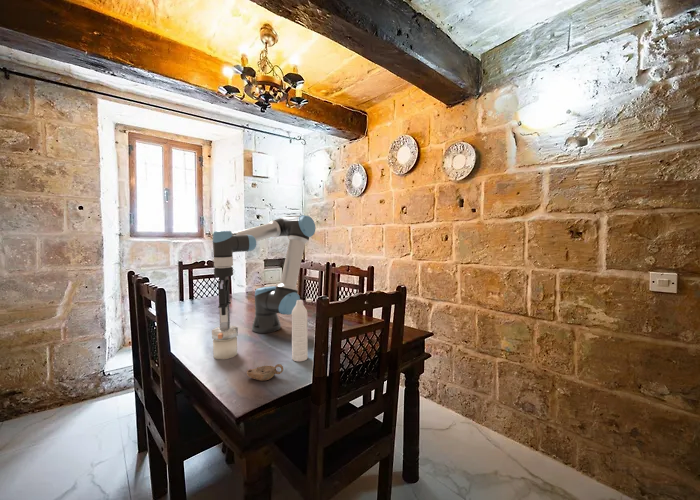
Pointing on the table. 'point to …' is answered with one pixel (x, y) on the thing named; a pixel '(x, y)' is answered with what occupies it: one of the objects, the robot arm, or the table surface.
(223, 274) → the robot arm
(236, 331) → the lid
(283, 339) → the table surface
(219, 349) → the jar
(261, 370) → the oil lamp
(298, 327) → the water bottle
